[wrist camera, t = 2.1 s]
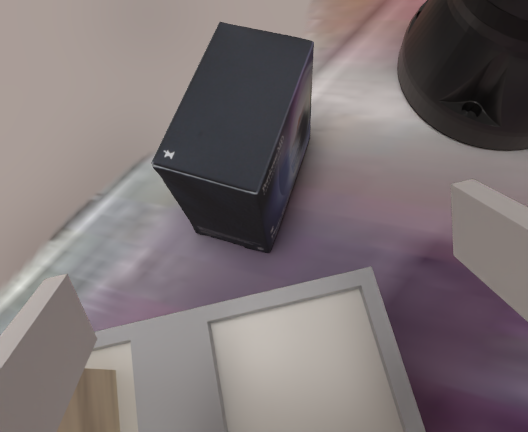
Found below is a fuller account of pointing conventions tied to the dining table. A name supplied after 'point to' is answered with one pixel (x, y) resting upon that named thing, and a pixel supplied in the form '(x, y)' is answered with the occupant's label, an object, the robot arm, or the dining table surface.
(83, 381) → the block
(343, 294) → the tray
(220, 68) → the small box
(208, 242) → the dining table surface
